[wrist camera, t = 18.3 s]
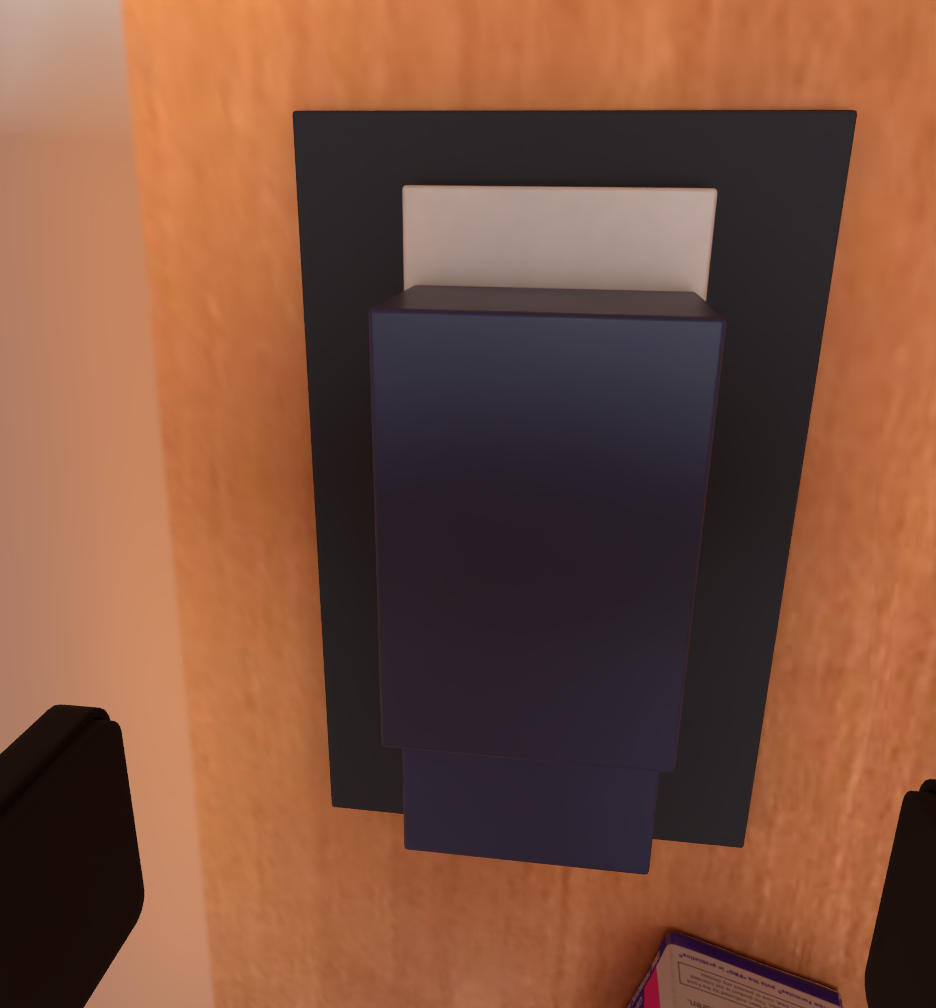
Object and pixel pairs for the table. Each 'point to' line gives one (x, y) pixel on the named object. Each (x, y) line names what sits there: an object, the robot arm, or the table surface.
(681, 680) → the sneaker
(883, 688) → the table surface
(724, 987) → the supplement box
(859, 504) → the table surface
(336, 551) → the mat
